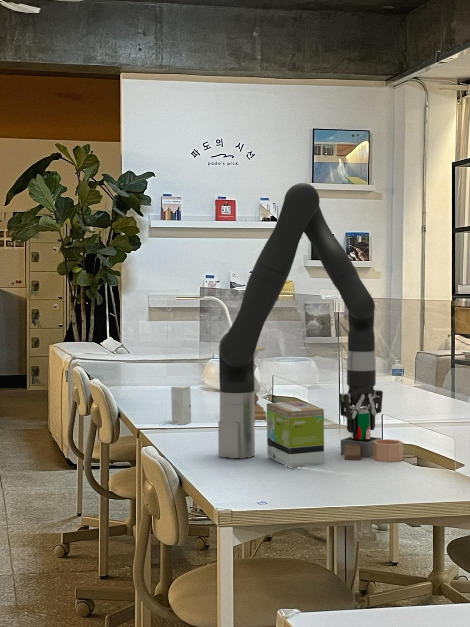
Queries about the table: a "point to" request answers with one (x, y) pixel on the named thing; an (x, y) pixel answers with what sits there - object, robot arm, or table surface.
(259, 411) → the candle holder
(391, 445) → the bowl
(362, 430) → the soda can
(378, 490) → the table surface
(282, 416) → the tea box
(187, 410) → the skincare box
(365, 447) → the bin
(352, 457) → the walnut block
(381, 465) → the table surface
